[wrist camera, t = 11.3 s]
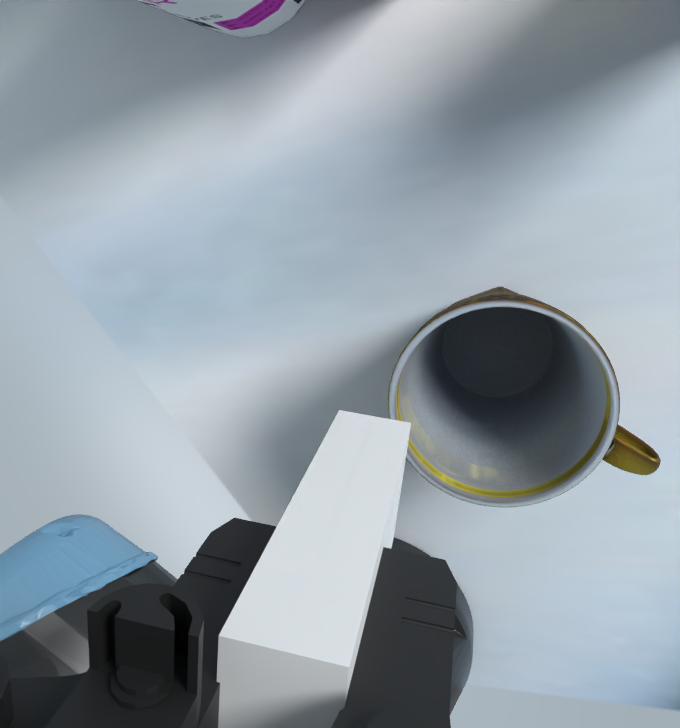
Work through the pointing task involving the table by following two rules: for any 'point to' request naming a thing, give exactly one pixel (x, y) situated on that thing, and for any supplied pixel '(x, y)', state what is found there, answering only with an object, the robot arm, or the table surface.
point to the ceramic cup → (510, 402)
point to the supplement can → (232, 14)
